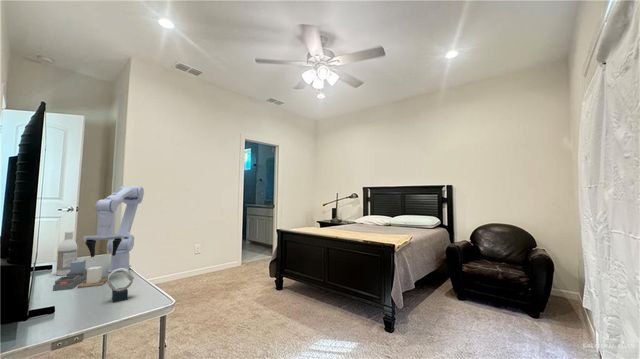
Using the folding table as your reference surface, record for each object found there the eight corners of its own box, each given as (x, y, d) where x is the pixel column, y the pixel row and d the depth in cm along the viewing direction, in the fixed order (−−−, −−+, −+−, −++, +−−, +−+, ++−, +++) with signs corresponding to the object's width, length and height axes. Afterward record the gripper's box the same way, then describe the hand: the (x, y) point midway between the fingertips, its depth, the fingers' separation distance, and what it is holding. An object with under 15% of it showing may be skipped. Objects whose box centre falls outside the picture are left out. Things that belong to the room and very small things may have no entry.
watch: (133, 298, 99) (135, 268, 100) (106, 303, 94) (108, 272, 94) (132, 293, 103) (133, 265, 104) (105, 299, 98) (107, 268, 99)
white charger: (90, 281, 115) (90, 267, 116) (101, 279, 117) (102, 266, 117) (86, 283, 112) (87, 269, 112) (98, 282, 113) (99, 268, 114)
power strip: (78, 273, 127) (78, 266, 127) (93, 272, 129) (94, 265, 129) (52, 290, 105) (53, 281, 105) (72, 288, 107) (73, 280, 108)
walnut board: (86, 281, 117) (86, 279, 117) (108, 279, 120) (108, 277, 120) (77, 287, 109) (77, 286, 109) (102, 285, 112) (102, 284, 112)
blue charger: (73, 274, 120) (74, 260, 120) (85, 273, 122) (85, 259, 122) (69, 276, 116) (70, 262, 117) (81, 275, 118) (82, 261, 118)
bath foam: (59, 272, 128) (62, 231, 129) (78, 271, 131) (80, 230, 132) (53, 276, 122) (56, 233, 123) (73, 274, 125) (76, 232, 126)
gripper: (81, 227, 114) (79, 259, 113) (122, 226, 120) (120, 256, 119) (87, 225, 120) (85, 255, 120) (126, 224, 126) (124, 253, 126)
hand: (103, 256), depth 120 cm, fingers open, 7 cm apart
